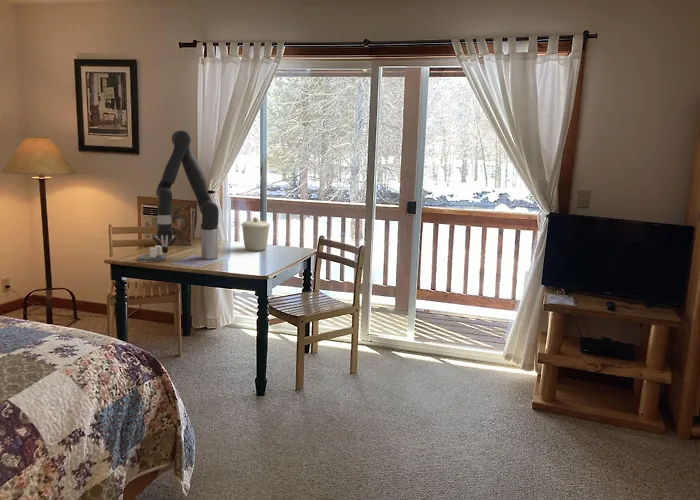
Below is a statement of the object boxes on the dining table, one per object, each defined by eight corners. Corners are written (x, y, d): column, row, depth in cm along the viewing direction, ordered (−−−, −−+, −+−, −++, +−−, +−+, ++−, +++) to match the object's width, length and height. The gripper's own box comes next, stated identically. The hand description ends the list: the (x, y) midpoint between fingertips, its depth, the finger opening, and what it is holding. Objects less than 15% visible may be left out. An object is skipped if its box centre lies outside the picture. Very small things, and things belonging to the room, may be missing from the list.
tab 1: (156, 256, 316) (156, 247, 315) (155, 257, 313) (155, 248, 312) (150, 256, 316) (150, 247, 315) (150, 257, 312) (149, 248, 311)
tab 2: (161, 254, 322) (161, 245, 321) (160, 255, 318) (160, 246, 318) (156, 254, 321) (155, 245, 320) (155, 255, 318) (155, 246, 317)
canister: (235, 248, 359) (235, 216, 354) (259, 246, 370) (260, 214, 366) (250, 253, 345) (251, 219, 341) (275, 250, 357) (275, 218, 353)
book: (192, 243, 367) (191, 206, 362) (192, 245, 362) (191, 207, 357) (166, 244, 363) (165, 205, 358) (165, 245, 358) (164, 207, 353)
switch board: (166, 257, 324) (166, 254, 323) (165, 261, 314) (164, 258, 313) (141, 258, 321) (141, 254, 320) (138, 262, 311) (138, 258, 310)
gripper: (177, 221, 317) (177, 251, 320) (152, 221, 314) (153, 251, 317) (176, 223, 310) (176, 254, 313) (151, 223, 307) (152, 254, 310)
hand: (165, 253), depth 315 cm, fingers closed
